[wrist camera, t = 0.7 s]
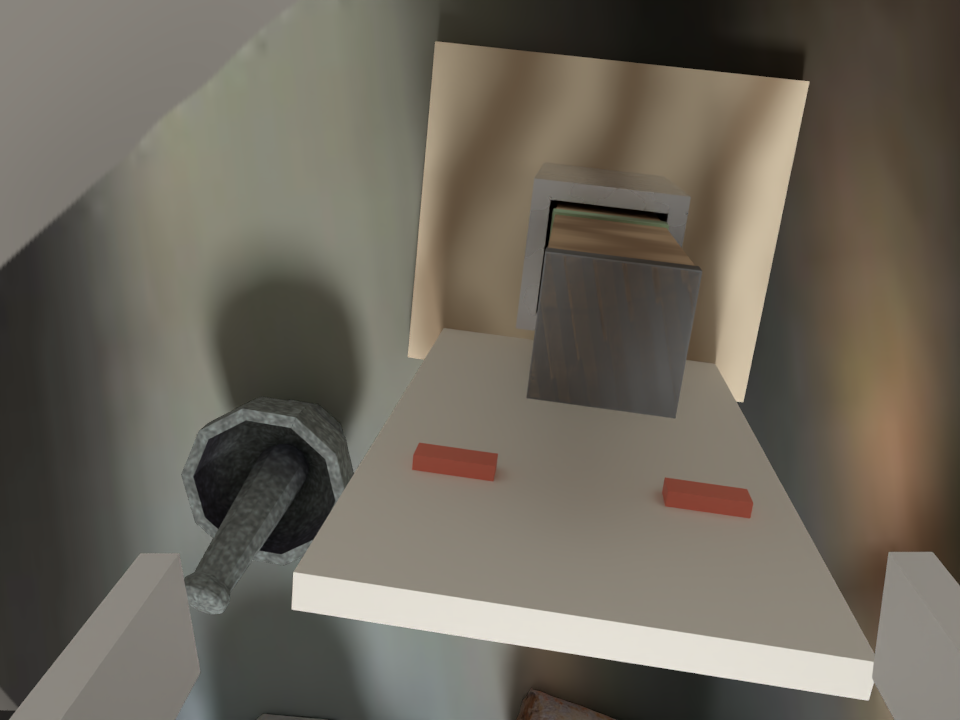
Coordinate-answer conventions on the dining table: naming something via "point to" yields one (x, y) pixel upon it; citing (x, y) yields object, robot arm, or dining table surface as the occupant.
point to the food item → (554, 709)
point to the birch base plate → (603, 145)
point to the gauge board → (583, 530)
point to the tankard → (283, 717)
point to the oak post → (613, 312)
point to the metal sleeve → (596, 191)
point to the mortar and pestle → (261, 489)
